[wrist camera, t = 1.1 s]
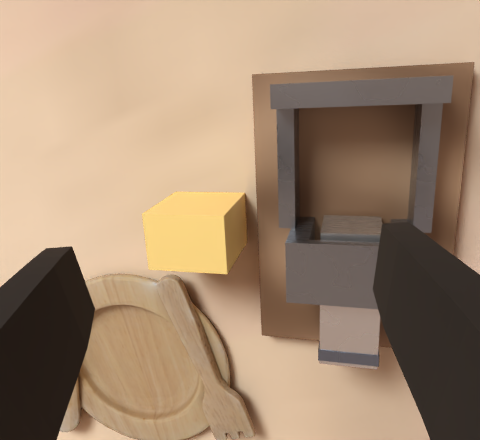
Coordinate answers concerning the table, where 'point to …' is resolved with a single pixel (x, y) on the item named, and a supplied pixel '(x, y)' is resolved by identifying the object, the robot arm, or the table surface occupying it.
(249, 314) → the table surface
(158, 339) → the tableware set
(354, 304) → the block
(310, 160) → the board
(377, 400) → the table surface
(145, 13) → the table surface
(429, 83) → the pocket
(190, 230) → the block
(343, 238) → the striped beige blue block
